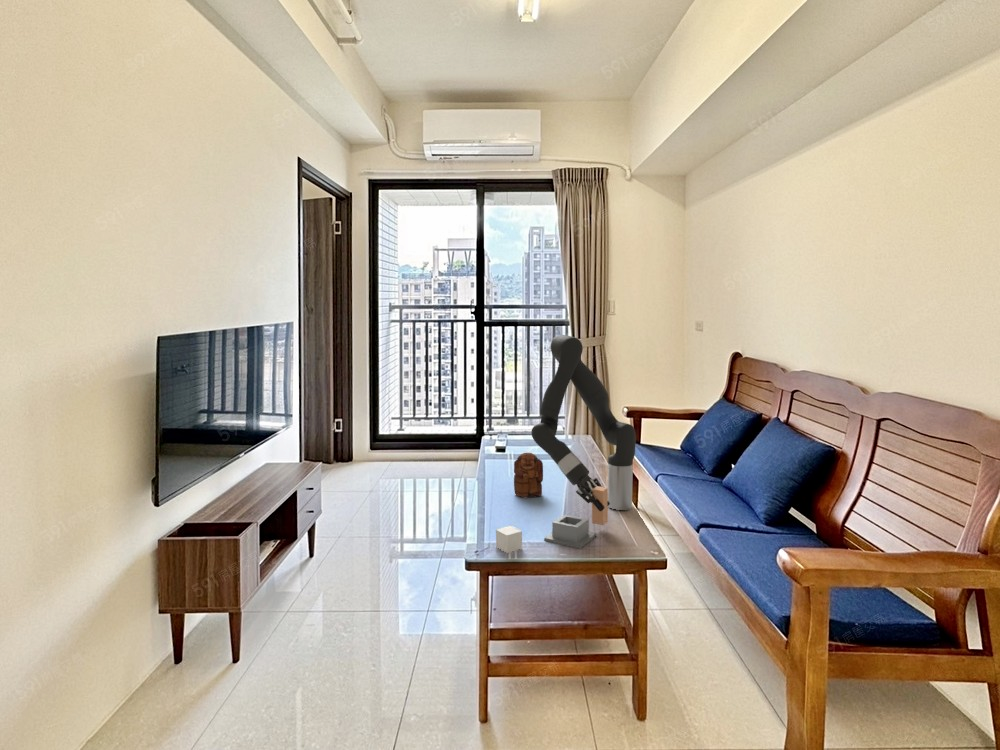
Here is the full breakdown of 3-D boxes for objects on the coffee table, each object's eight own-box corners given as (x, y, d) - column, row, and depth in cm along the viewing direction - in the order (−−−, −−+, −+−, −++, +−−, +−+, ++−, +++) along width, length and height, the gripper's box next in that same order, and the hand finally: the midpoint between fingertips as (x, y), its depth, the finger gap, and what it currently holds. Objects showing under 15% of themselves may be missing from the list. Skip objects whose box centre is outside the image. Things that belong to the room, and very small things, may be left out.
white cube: (510, 543, 188) (510, 525, 187) (522, 549, 183) (522, 531, 182) (495, 547, 184) (495, 529, 183) (507, 553, 179) (506, 535, 179)
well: (544, 540, 189) (544, 523, 189) (562, 528, 200) (562, 511, 199) (580, 548, 182) (580, 530, 182) (596, 535, 193) (596, 518, 192)
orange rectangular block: (592, 523, 197) (592, 489, 196) (596, 519, 200) (596, 486, 199) (603, 525, 195) (602, 491, 193) (607, 521, 198) (607, 487, 197)
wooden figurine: (515, 498, 234) (515, 455, 232) (513, 493, 240) (513, 451, 238) (544, 497, 235) (544, 454, 233) (541, 492, 241) (541, 450, 239)
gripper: (570, 466, 193) (604, 507, 188) (588, 457, 205) (620, 495, 200) (557, 480, 197) (589, 520, 192) (575, 470, 209) (606, 507, 203)
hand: (605, 507), depth 196 cm, fingers closed on orange rectangular block, 4 cm apart
